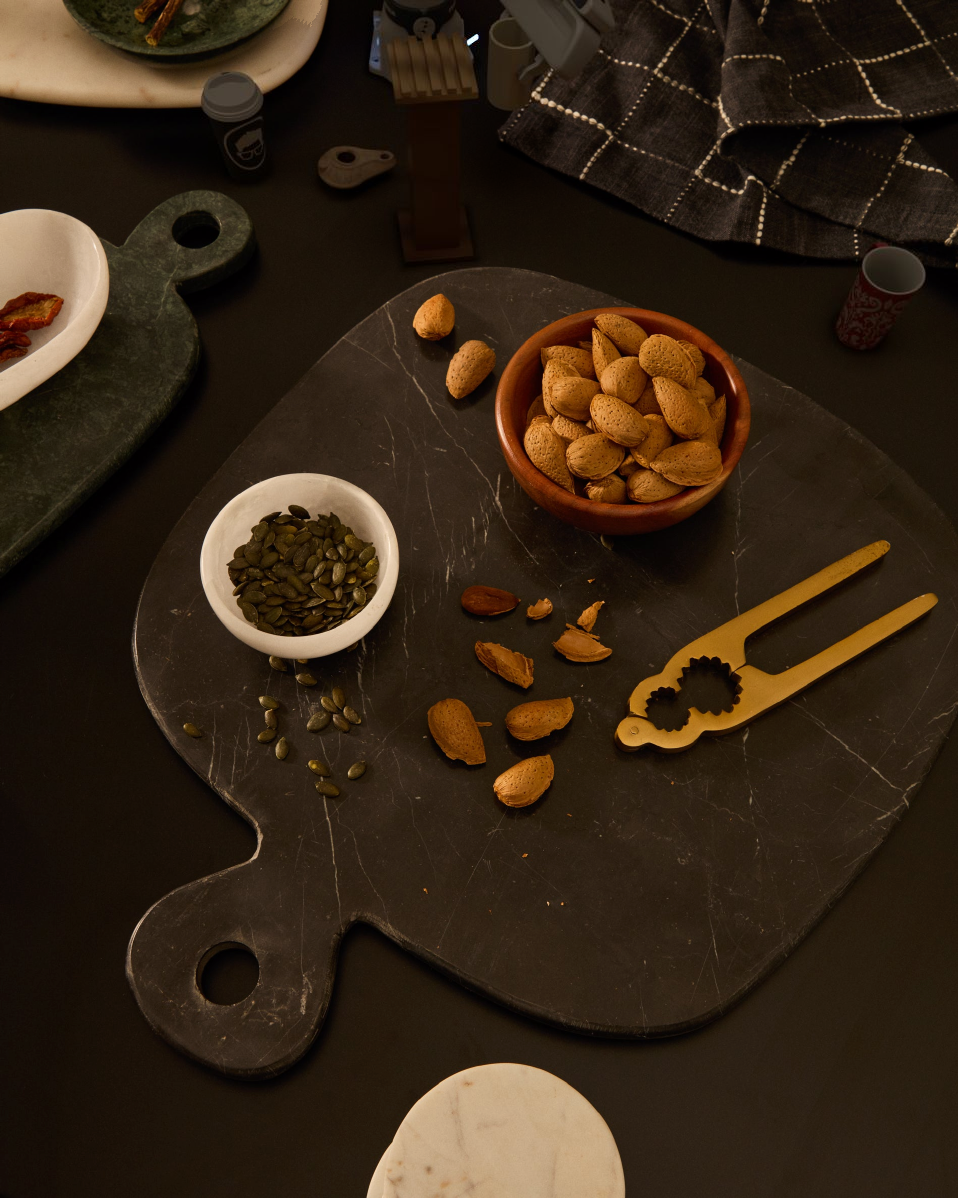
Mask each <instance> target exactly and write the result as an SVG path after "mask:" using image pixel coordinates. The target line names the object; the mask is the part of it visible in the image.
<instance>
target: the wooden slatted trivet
mask: <svg viewBox="0 0 958 1198" xmlns="http://www.w3.org/2000/svg"><path fill="white" fill-rule="evenodd" d="M407 40H408V42H402V38H401V37H393V43H387V44H386V47H387V55H388V61H389V67H390V73H391V79H392V83H391V84H392V89H393V97H394V102H395V106H396V105H397V106H401V105H405V104H414V103H426V102H439V101H451V100H461V101H462V100H474V99H479V88H478V83H477V79H476V75H475V70H474V64H473V65H472V60H471V56H470V51H469V49H470V47H469V45H468V42H467V41H468V38H467V37H466V36H464V37H463V38H461V35H460V32H455V33H451V38H450V39H446V34H445V33H441V34H437V40H432V38H431V34H428V35H422V41H417V38H416V35H414V36H407Z"/></svg>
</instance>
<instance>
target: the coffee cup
mask: <svg viewBox="0 0 958 1198" xmlns="http://www.w3.org/2000/svg"><path fill="white" fill-rule="evenodd" d="M263 103H264V95H263V92H262V90H261V88H260V87H259V86H258V84H257V83H256V82H255V81H254V80H253V78H252V77H250V76H249V75H248V74H246V73H244V72H241V71H234V70H227V71H221V72H218V73H215V74H213V75H212V76H211V77H209V78H208V79H207V81H206V82H205V84H204V85H203V90H202V91H201V96H200V106H201V109H202V111H203V112H204V113H205V114H206V115H207V117H208V119H209V122H210V125H211V128H212V130H213V133H214V136H215V139H216V141H217V144H218V146H219V151H220V153H221V156H222V158H223V161H224V163H225V166H226V169H227V172H228V174H229V176H230V178H232V179H233V180H234V181H236V182H239V183H242V184H250V183H251V184H252V183H256V182H258V181H260V180H262V179H263V178H264V177H265V176H266V174H267V172H268V167H269V166H268V159H267V149H266V140H265V130H264V121H263V120H264V119H263V110H262V106H263V105H264V104H263Z"/></svg>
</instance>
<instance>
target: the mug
mask: <svg viewBox="0 0 958 1198" xmlns="http://www.w3.org/2000/svg"><path fill="white" fill-rule="evenodd" d="M926 275H927V274H926V269H925V267H924V265H923V263H922V262H921V260H920V259H919V258H918V257H917V256H916V255H914V253H912V252H910V251H909V250H906V249H903V248H901V247H898V246H889V244H888V243H887V242H883V241H877V242H876V241H875V242H874V243H872V244H871V246H870V247H869V248H868V250H867V252H866V255H865V256H864V258H863V259H862V262H861V266H860V268H859V271H858V274H857V276H856V278H855V280H854V282H853V285H852V288H851V289H850V291H849V293H848V296H847V297H846V300H845V302H844V305H843V306H842V309H841V311H840V312H839V313H840V314H839V316H838V317H837V319H836V322H835V326H834V329H835V330H834V331H835V335H836V337H837V338H838V339H839V341H840V342H841V343H842V344H844V345H845V346H846V347H849V348H850V349H854V350H857V351H867V350H873V348H875V347H877V346H878V345H879V344H880V343H881V341H882V340H883V339H884V337H885V336H886V334H887V333H888V331H889V330H890V328H891V327H892V326H893V325H894V324H895V322H896V320H897V318H898V317H899V316H900V314H901V313H902V312H903V310H904V309H905V308H906V306H907V305H908V304H909V302H910V301H911V299H912V298H913V297H914V295H915V294H916V292H917V291H918V290H920V289H921V288H922V287H923V285H924V284H925V281H926Z"/></svg>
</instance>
